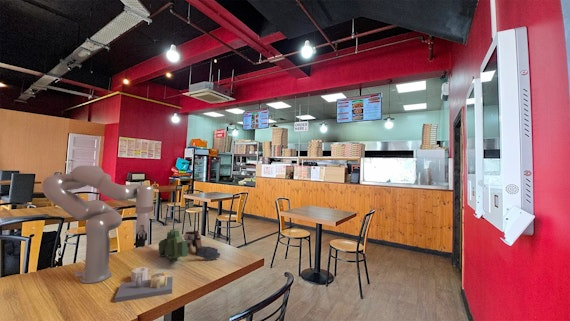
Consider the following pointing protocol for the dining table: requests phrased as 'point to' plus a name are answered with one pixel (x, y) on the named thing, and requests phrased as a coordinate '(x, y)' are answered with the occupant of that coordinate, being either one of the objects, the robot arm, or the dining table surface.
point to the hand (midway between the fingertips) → (142, 243)
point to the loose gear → (140, 273)
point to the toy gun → (193, 239)
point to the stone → (208, 253)
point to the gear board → (145, 288)
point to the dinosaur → (173, 246)
